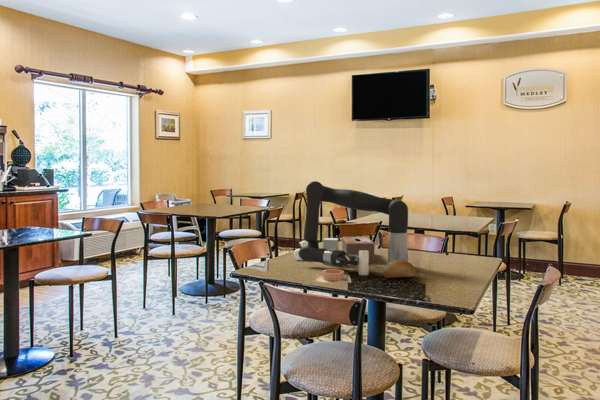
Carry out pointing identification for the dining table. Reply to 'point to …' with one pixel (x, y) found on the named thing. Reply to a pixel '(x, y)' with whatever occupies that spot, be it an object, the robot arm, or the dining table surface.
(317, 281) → the birch board
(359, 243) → the tissue box cover
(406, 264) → the bread roll
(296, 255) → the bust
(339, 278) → the terracotta dish
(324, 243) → the supplement box
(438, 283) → the dining table surface
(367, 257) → the cream candle
